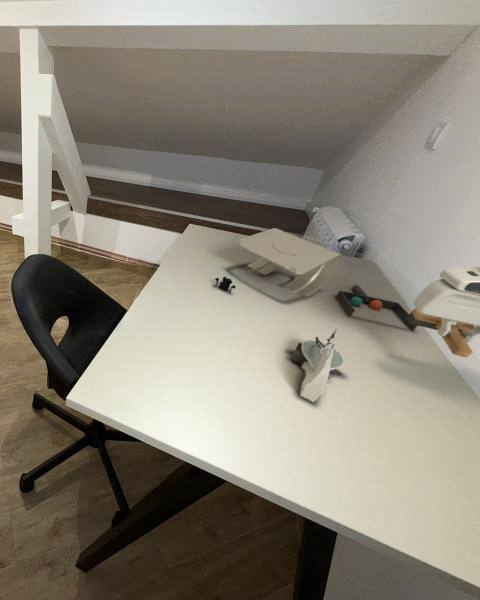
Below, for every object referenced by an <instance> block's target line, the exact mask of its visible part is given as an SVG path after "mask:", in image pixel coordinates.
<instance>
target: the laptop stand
mask: <svg viewBox="0 0 480 600" xmlns="http://www.w3.org/2000/svg"><path fill="white" fill-rule="evenodd" d="M233 244H235V245H237V246H239V247H241V248H243V249H245V250H247V251H249V252H251V253H253V254H255V255H258V256H259V258H258V259H256V260H255V261H253V262H251V263H249V264H247V265H246V266H247V267H248V268H251V269H250V270H247V273H252V272H258V273H260V274H262V275H264V276H265V275H269V274H271V273H272V272H274V271H275V270H277V269H279V268H280V267H282V268H283V269H286V270H287V271H290V272H292V273H293V274H295V275H297V276H296V277H295V278H294V279H292V280H291V281H289V282H288V283H285V284H284V285H283V286H284V287H285V288H288V289H290V291H287V292H286V294H288V295H289V294H293V293H298V294H299V295H301V296H303V297H305V298H308V297H310V296H312V295H313V294H315V293H316V292H317V291H318V290H320V289H321V288H322V287H323V285H325V284H326V282H328V280H329V279H330V277H332V275H333V273H334V272H335V270H336V269H337V267H338V265H339V263H341V260H342V257H343V254H342V253H339V252H337V251H334V250H332V249H328V248H327V247H324V246H321V245H319V244H316V243H314V242H311V241H309V240H306V239H304V238H301V237H299V236H297V235H294V234H292V233H290V232H285V231H284V230H282V229H280V228H276V227H273V228H270V229H267V230H264V231H260V232H258V233H254V234H251V235H248V236H245V237H243V238H239V239H236V240H234V241H233Z"/></svg>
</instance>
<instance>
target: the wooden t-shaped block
mask: <svg viewBox="0 0 480 600" xmlns="http://www.w3.org/2000/svg"><path fill="white" fill-rule="evenodd" d="M406 318H407V320H408V322H409V323H410V324H413V325H417V327H421V328H427V329H430V330H435V331H438V330H439V329H440V328H441V327H442V321H441V318H440V317H435V316H431V315H426V314H422V313H420V312H419V311H418V310H417V309H416V308H413V309H412V310H411V312H410V313H409V315H408V316H407V317H406ZM475 327H476V326H475V325H471V324H467V323H462V322H457V323H456V324H455V325H452V324H451V329H452V330H453V331H454V333H453V334H452V335H451V336H450V337H445V336H441V338H442V339H443V341H444V343H445V344H446V346H447V347H448V350H449V351H450V352H451V354H452V355H454V356H458V357H463V358H468V357H470V356H471V355H473V354H474V351H473V349H472V348H471V347H470V345H469V343H468V342H466V341H465V339H464V338H463V337H462V335H461V334H460V333H461V332H462V331H469V330H471V329H473V328H475Z"/></svg>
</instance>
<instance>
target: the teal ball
mask: <svg viewBox="0 0 480 600" xmlns="http://www.w3.org/2000/svg"><path fill="white" fill-rule="evenodd" d="M349 302H350V303H351V305H352V306H353V307H361V305H363V303H362V299H361V298H359V297H353V298H351V299H350V300H349Z"/></svg>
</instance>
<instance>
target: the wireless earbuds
mask: <svg viewBox="0 0 480 600" xmlns="http://www.w3.org/2000/svg"><path fill="white" fill-rule="evenodd" d="M214 280H215V281H216V283H215V286H214V287H217V286H218V284H219V286H218V289H219V290H220V291H223V292H228V294H230V293H231V291H232V289H233V290H235V289H236V287H237V286H236V285H234V284H233V280H232V279H231V278H228V277H227V276H223V277H222V280H221V281H220V278H219V277H215V279H214ZM219 281H220V283H219ZM231 284H233V285H231Z"/></svg>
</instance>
